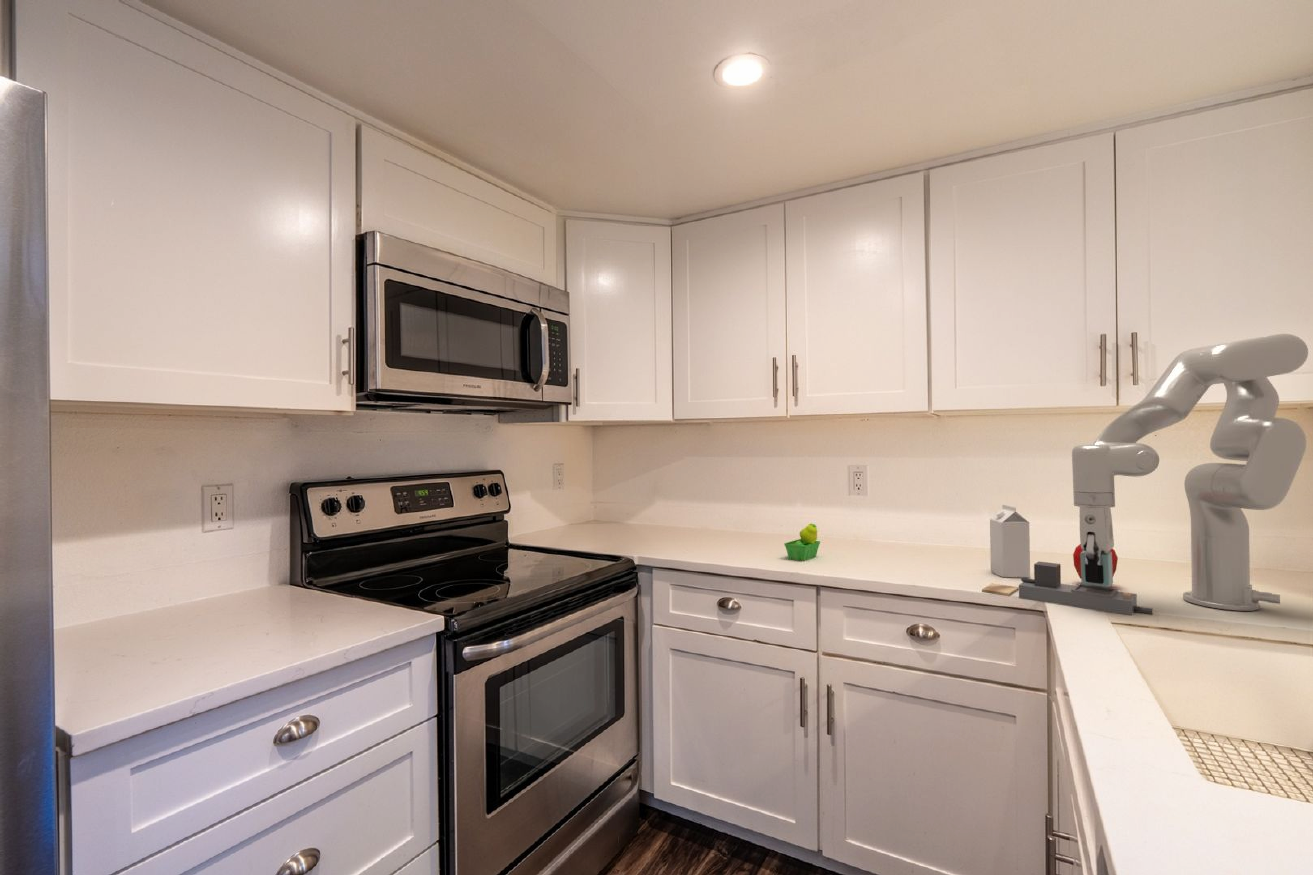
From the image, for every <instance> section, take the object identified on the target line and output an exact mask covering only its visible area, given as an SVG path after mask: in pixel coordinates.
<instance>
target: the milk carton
mask: <svg viewBox="0 0 1313 875" xmlns="http://www.w3.org/2000/svg"><path fill="white" fill-rule="evenodd" d="M1001 506H1002V508H1001V509H1000V510H998V511H996V513H995V514H994V515H993V516H991V517H990V518H989V539H990V540H989V541H990V542H989V544H990V545H989V546H990V547H989V549H990V551H989V552H990V553H989V556H990V572H991V573H994V574H995V575H997V576H999V577H1001V578H1030V577H1031V560H1030V559H1031V556H1030V554H1031V553H1030V552H1031V551H1030V549H1031V548H1030V544H1031V543H1030V541H1031V540H1030V522H1029V521H1028V520H1027V519H1026V518H1024V517H1023V516H1022V515H1020V514H1019V513H1018V511H1017V507H1015V506H1011V505H1006V504H1001Z"/></svg>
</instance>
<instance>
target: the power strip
mask: <svg viewBox="0 0 1313 875" xmlns="http://www.w3.org/2000/svg"><path fill="white" fill-rule="evenodd" d="M1033 565H1034V566H1033V569H1034V570H1033V576H1034V579H1033V578H1030V577H1020V580H1021V583H1020V584H1019V585H1018V587H1019V590H1018V598H1020V599H1025V600H1032V601H1038V602H1045V603H1051V604H1055V605H1056V604H1057V605H1061V606H1062V605H1063V606H1070V607H1076V608H1082V609H1090V610H1095V611H1101V612H1108V613H1115V614H1121V615H1127V616H1133V615H1134V613H1142V614H1147V615H1153V613H1154V611H1153V608H1151V607H1146V606H1145V607H1144V606H1140V605H1139V606H1138V605H1137V603H1138V602H1137V601H1138V598H1137V596H1138V594H1137V593H1134V592H1133V593H1131V592H1124V591H1119V590H1118V588H1114V587H1113V588H1112V587H1104V586H1102V587H1099V586H1092V585H1087V584H1082V583H1077V584H1076V585H1075V584H1067V583H1061V582H1062V581H1061V579H1062V578H1061V576H1062V574H1061V573H1062V572H1061V570H1062V569H1061V568H1062V566H1061V563H1054V562H1045V561H1038V562H1036V563H1034V564H1033Z"/></svg>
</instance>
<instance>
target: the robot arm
mask: <svg viewBox="0 0 1313 875" xmlns="http://www.w3.org/2000/svg"><path fill="white" fill-rule="evenodd" d="M1308 355H1309V348H1308V345H1307V343H1306V342H1305V341H1304V340H1303V339H1302V338H1300V337H1299V336H1296V335H1294V334H1290V333H1280V334H1277V333H1276V334H1271V335H1265V336H1260V337H1254V338H1247V339H1246V338H1245V339H1241V340H1236V341H1232V342H1227V343H1225V342H1224V343H1220V344H1215V345H1207V346H1202V347H1195V348H1191V349H1188V350H1185V351H1183V352H1181V353H1179V354H1178V355H1177V356H1175V358H1174V359H1173V360H1172V362H1170V364H1169V365H1168V367H1167V368H1166V370H1165V371H1163V374H1161V376H1160V377H1159V378H1158V380H1157V381H1156V382H1155V384H1154V385H1153V387H1152V388H1151V389H1150V390H1149V392H1148V393H1147V395H1146V396H1145V397H1144V398H1142V400H1141V401H1139V402H1138V403H1136V404H1134V405H1133V406H1132V407H1130V408H1129V409H1127V411H1125V412H1124V413H1122V414H1121V415H1119V416H1118V417H1117V418H1115V419H1114V420H1113V421H1111V422H1110V423H1109V424H1107V426H1106V427H1104V429H1103V430H1102V432H1101V433H1100V434H1099V436H1098V437H1097V438H1096V439H1095V441H1094V442H1093V444H1081V445H1076V446H1075V447H1073V448H1072V451H1071V461H1072V463H1071V464H1072V467H1071V468H1072V489H1073V490H1072V491H1073V492H1072V493H1073V506H1074V507H1077V508H1078V507H1079V538H1080V540H1079V541H1080V542H1079V544H1081V549H1082V550H1084V551H1085V580H1086V582H1091V583H1099V584H1102V583H1103V582H1104V578H1103V565H1101V551H1104V552H1105V553H1107V552H1109V551H1110V550H1111V549H1112V548H1113V549H1114V547H1115V542H1114V541H1115V540H1114V528H1113V516H1112V515H1113V514H1112V509H1111V508H1116V493H1115V488H1116V487H1115V476H1122V477H1132V478H1133V477H1136V478H1137V477H1139V478H1140V477H1143V476H1147V475H1150V474H1152V473H1153V472H1154V471H1155V470H1156V469H1157V468H1158V467H1159V465H1160V464H1159V463H1160V456H1159V454H1158V452H1157V451H1156V450H1155V449H1154V448H1153V447H1152V446H1150V445H1147V444H1146V443H1145V444H1144V443H1139V442H1138V441H1140V440H1142V439H1143V438H1145V437H1146V436H1148V435H1150V434H1153V433H1155V432H1156V431H1161V430H1162V429H1166V428H1168V427H1172V426H1173V425H1175V424H1178V423H1180V422H1182V421H1184V420H1185V419H1186V418H1188V416H1189V415H1190V413H1191V412H1192V410H1193V409H1194V408H1195V406H1197V404H1198V403H1199V401H1200V400H1201V399H1202V397H1203V396H1204V395H1205V394H1206V392H1207V391H1208V390H1209V388H1210V387H1211V386H1213V385H1216V384H1217V385H1218V384H1223V386H1224V387H1225V390H1226V400H1225V402H1224V405H1223V409H1222V410H1221V413H1220V415H1219V418H1218V420H1217V422H1216V425H1215V426H1214V427H1215V428H1214V430H1213V432H1212V435H1211V438H1210V442H1209V444H1210V445H1209V447H1210V450H1211V452H1212V454H1214V455H1215V456H1216V457H1218V458H1221V459H1224V460H1229V461H1237V462H1239V461H1241V462H1246V463H1245V464H1242V463H1241V464H1240V463H1228V462H1227V463H1223V462H1209V463H1202V464H1199V465H1196V466H1194V467H1193V468H1191V469H1190V470H1189V471H1188V472H1187V474H1186V476H1185V477H1184V483H1183V484H1184V490H1185V491H1184V492H1185V495H1186V499H1187V503H1188V506H1189V507H1188V509H1189V514H1190V541H1191V542H1190V546H1191V547H1190V551H1191V552H1190V556H1191V558H1190V559H1191V560H1190V561H1191V590H1190V591H1186V592H1183V593H1182V598H1183V599H1184V601H1186V602H1189V603H1191V604H1194V605H1199V606H1203V607H1207V608H1213V609H1220V610H1227V611H1240V612H1243V611H1244V612H1248V611H1249V612H1253V611H1258V610H1260V609H1261V602H1265V603H1269V604H1279V605H1280V604H1281V595H1280V594H1277V593H1276V594H1275V593H1272V592H1266V591H1259V590H1256V589H1253V584H1251V568H1250V567H1251V566H1250V561H1251V560H1250V556H1251V555H1250V527H1249V523H1248V520H1247V517H1246V515H1245V513H1244V511H1243V509H1244V510H1253V511H1254V510H1255V511H1265V510H1271V509H1273V508H1275V507H1277V506H1278V505H1280V504H1281V503H1282V502H1283V501H1284V499H1285V498H1286V496H1287V495H1288V493H1289V490H1290V489H1291V486H1292V484H1293V482H1294V480H1295V477H1296V475H1297V472H1298V470H1299V468H1300V464H1301V462H1302V460H1303V457H1304V456H1305V452H1306V448H1307V437H1306V434H1305V431H1304V429H1303V428H1302V426H1301V425H1300V424H1298V423H1297V422H1295V421H1293V420H1291V419H1289V418H1283V417H1276V415H1277V411H1278V408H1279V406H1280V396H1279V393H1278V392H1277V390H1276V388H1275V386H1274V385H1273V383H1271V381H1270V379H1269V378H1268V377H1274V376H1275V377H1276V376H1280V375H1285V374H1286V375H1287V374H1289V373H1292V372H1295V371H1296V370H1299V369H1300V368H1301V367H1302V366H1303V365H1304V364H1305V363H1306V361H1307V359H1308V357H1309V356H1308ZM1094 550H1096V551H1094ZM1096 554H1098V556H1097V555H1096ZM1097 558H1098V559H1097Z"/></svg>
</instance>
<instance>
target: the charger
mask: <svg viewBox="0 0 1313 875" xmlns="http://www.w3.org/2000/svg"><path fill="white" fill-rule="evenodd" d="M1094 551H1096V550H1094ZM1080 555H1081V578H1080V580H1081V582H1080V583H1081V584H1084V585H1095V586H1102V587H1106V588H1111V586H1112V585H1113V583H1114V579H1113V578H1114V576H1113V570H1112V552H1107V553H1105V552H1104V551H1101V565H1103V578H1104V582H1103V583H1102V584H1099V583H1091V582H1086V580H1085V551H1084V550H1083V551H1082V552H1081V553H1080ZM1096 555H1097V556H1098V554H1096ZM1097 559H1098V558H1097Z"/></svg>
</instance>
